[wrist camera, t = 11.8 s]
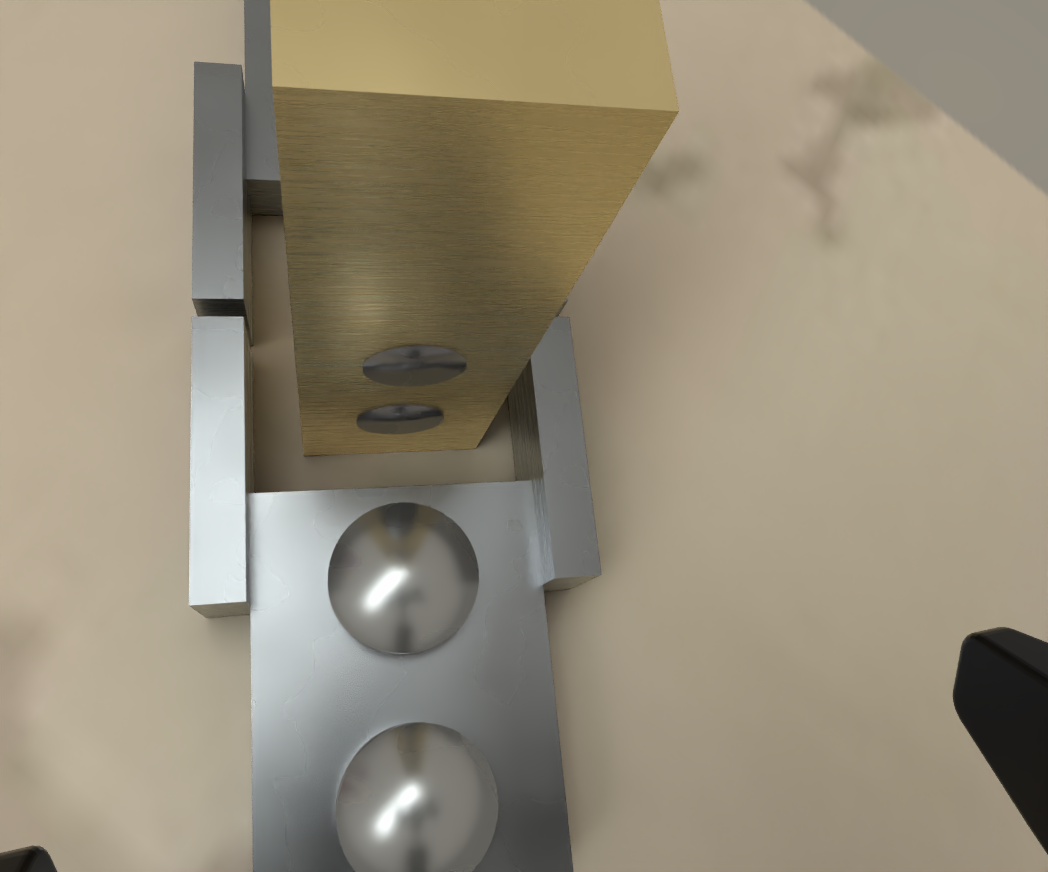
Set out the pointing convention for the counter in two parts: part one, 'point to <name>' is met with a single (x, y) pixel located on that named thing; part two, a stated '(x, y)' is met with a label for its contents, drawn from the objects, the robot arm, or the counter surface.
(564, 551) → the chain ends
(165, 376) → the counter surface
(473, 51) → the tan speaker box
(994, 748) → the robot arm
